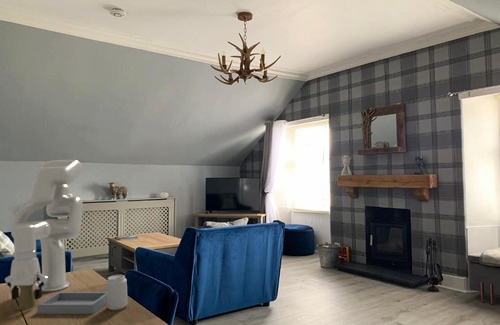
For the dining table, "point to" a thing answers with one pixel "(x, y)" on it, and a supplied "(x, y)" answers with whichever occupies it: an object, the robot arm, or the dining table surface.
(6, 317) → the dining table surface
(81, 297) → the tray
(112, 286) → the can
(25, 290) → the pepper mill
